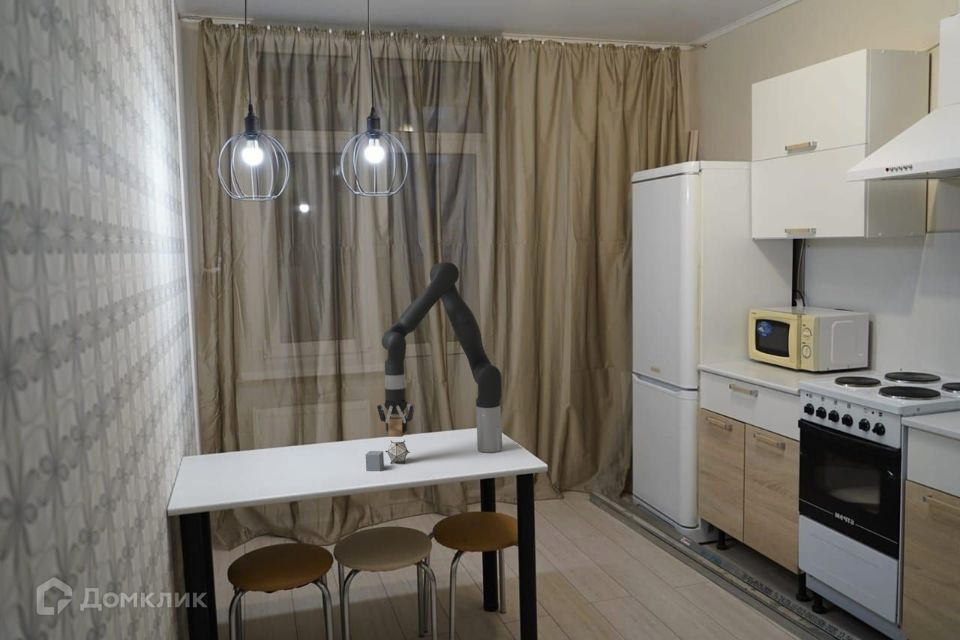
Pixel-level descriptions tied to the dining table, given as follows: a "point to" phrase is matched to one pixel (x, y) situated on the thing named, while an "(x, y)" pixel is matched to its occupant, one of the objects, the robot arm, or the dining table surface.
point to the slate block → (374, 460)
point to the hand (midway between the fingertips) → (396, 432)
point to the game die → (397, 451)
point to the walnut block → (395, 427)
